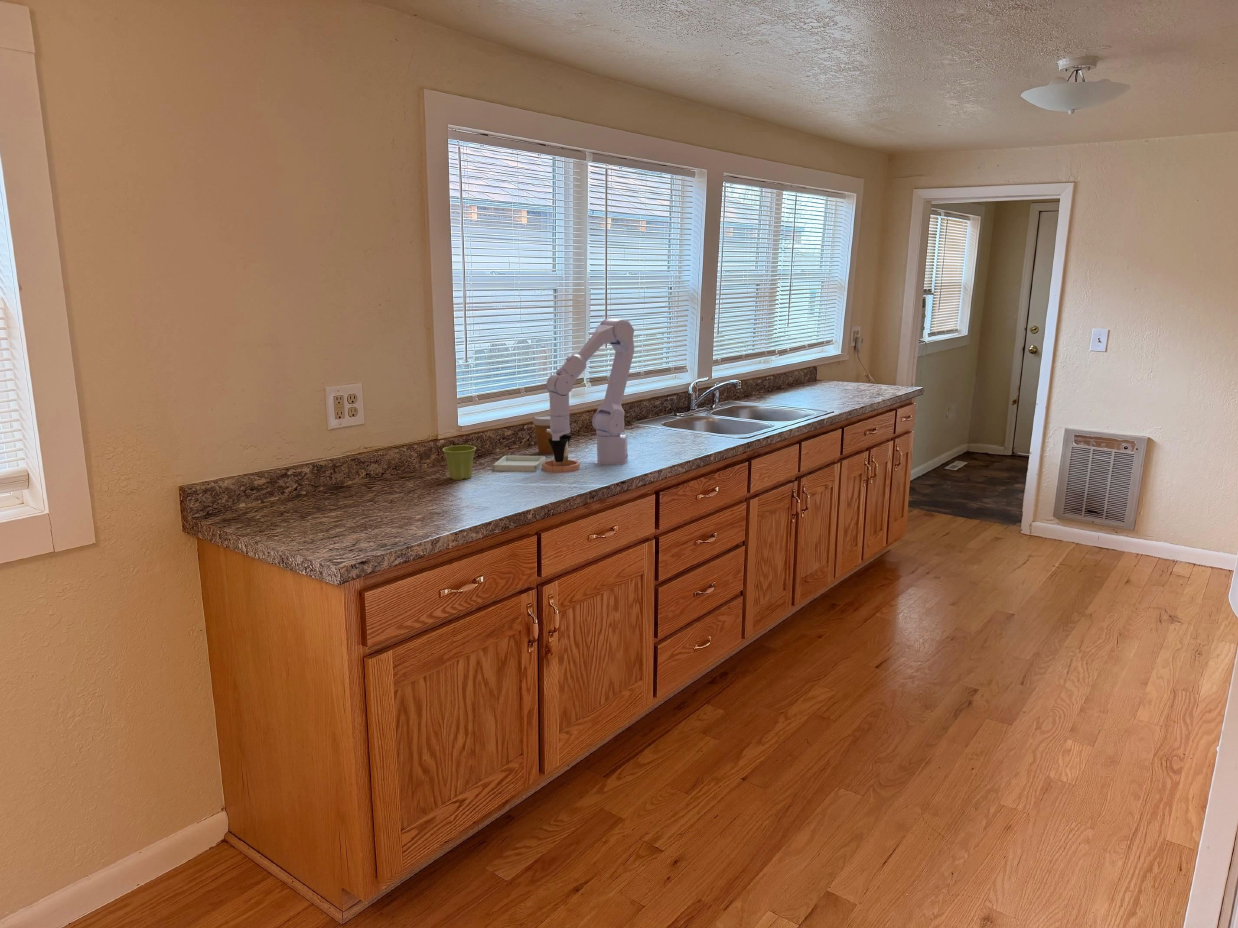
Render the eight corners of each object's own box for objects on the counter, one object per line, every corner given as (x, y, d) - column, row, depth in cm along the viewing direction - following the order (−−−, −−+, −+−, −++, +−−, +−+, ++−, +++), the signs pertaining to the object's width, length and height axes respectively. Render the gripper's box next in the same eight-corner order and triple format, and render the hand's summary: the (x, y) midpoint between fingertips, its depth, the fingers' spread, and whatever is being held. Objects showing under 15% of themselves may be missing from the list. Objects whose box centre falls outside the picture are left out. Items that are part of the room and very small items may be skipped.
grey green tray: (545, 463, 265) (545, 456, 265) (536, 472, 252) (536, 465, 251) (505, 462, 267) (504, 455, 267) (493, 472, 253) (493, 464, 253)
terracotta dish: (582, 466, 261) (582, 459, 260) (576, 473, 250) (575, 467, 250) (546, 465, 262) (546, 459, 262) (539, 473, 251) (539, 466, 251)
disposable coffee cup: (564, 450, 285) (564, 414, 283) (560, 456, 276) (559, 419, 274) (536, 450, 286) (535, 414, 284) (531, 455, 277) (530, 419, 275)
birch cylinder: (569, 466, 258) (568, 440, 256) (566, 469, 253) (566, 443, 252) (555, 466, 258) (554, 440, 257) (552, 469, 254) (551, 443, 252)
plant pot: (470, 482, 241) (468, 451, 239) (438, 480, 243) (437, 450, 241) (481, 474, 250) (480, 445, 248) (451, 473, 252) (450, 444, 250)
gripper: (551, 411, 260) (552, 455, 263) (541, 418, 246) (542, 464, 249) (574, 411, 259) (575, 455, 262) (565, 419, 245) (566, 465, 248)
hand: (560, 460), depth 255 cm, fingers closed on birch cylinder, 4 cm apart
